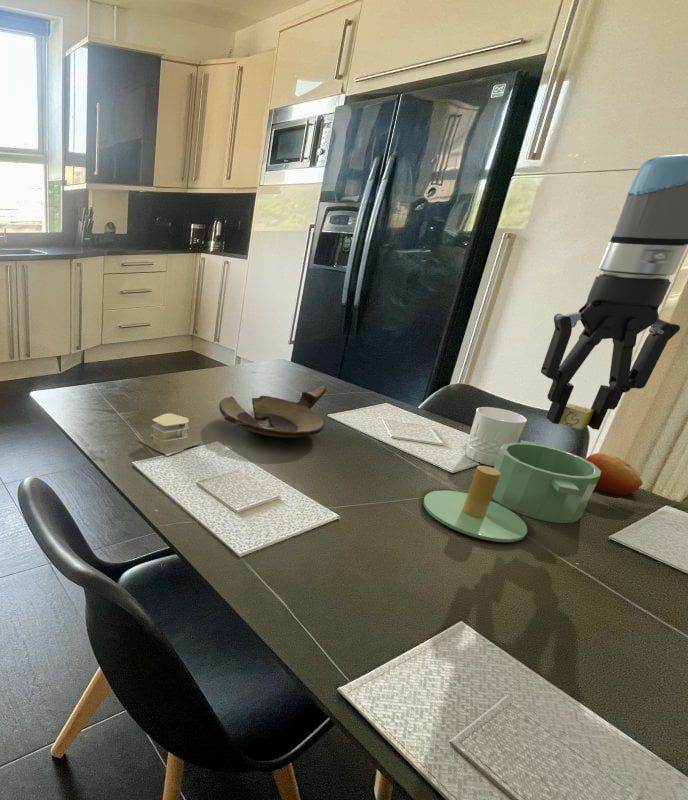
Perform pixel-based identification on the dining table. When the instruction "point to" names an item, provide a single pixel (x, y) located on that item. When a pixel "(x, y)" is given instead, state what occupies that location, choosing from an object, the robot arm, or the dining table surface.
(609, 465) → the fruit
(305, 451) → the dining table surface
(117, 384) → the dining table surface
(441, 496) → the lid
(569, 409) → the alphabet block
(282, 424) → the broken brown bowl
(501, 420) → the white cup
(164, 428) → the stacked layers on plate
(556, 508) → the pot
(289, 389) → the dining table surface
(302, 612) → the dining table surface
